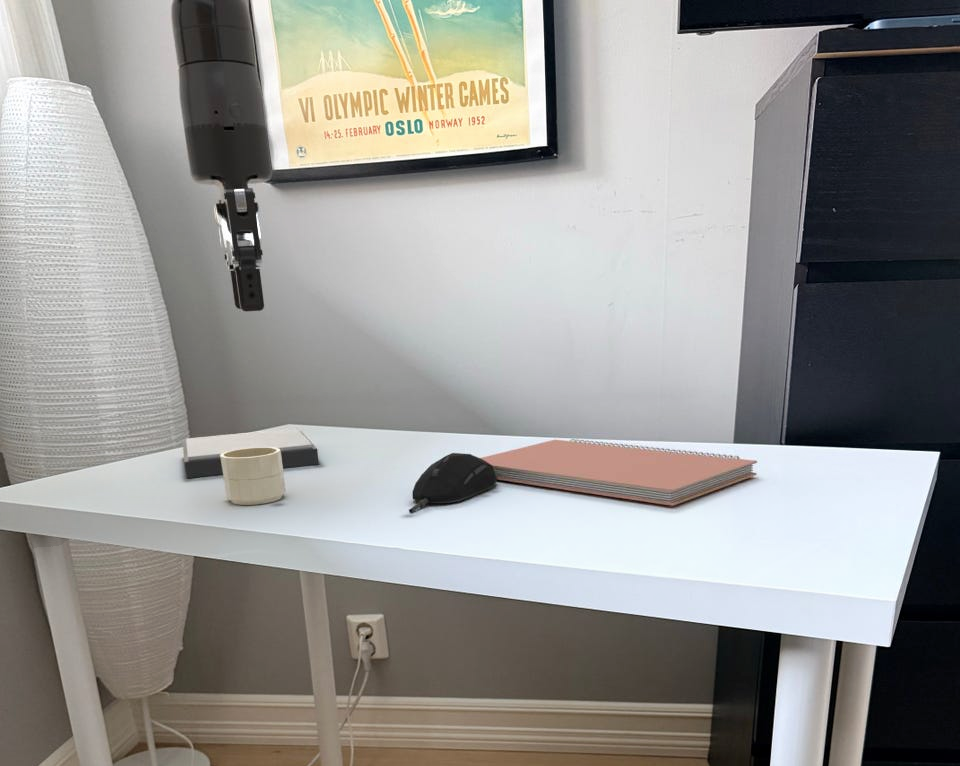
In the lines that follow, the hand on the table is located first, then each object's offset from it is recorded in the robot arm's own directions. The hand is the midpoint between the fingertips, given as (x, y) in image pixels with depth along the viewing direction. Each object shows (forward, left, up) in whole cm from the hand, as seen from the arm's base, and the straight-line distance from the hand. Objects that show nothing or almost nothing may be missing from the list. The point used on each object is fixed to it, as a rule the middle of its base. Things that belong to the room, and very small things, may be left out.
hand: (249, 309), depth 92 cm
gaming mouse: (+17, -8, -19) cm, 27 cm away
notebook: (+35, -8, -19) cm, 41 cm away
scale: (-1, +25, -19) cm, 31 cm away
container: (-2, +1, -19) cm, 19 cm away
